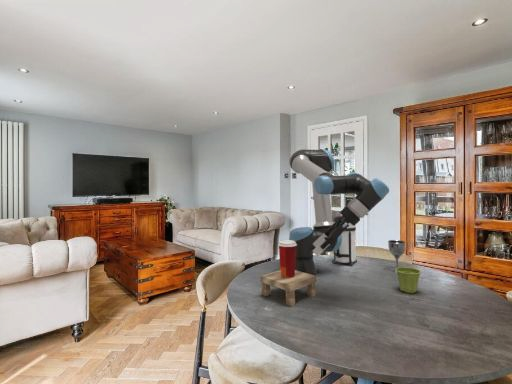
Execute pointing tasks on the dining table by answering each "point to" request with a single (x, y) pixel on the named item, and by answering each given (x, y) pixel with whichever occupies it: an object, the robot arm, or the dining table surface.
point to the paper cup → (287, 258)
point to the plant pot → (408, 279)
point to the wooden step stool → (289, 284)
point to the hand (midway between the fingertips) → (314, 249)
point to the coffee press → (346, 245)
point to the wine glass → (396, 250)
